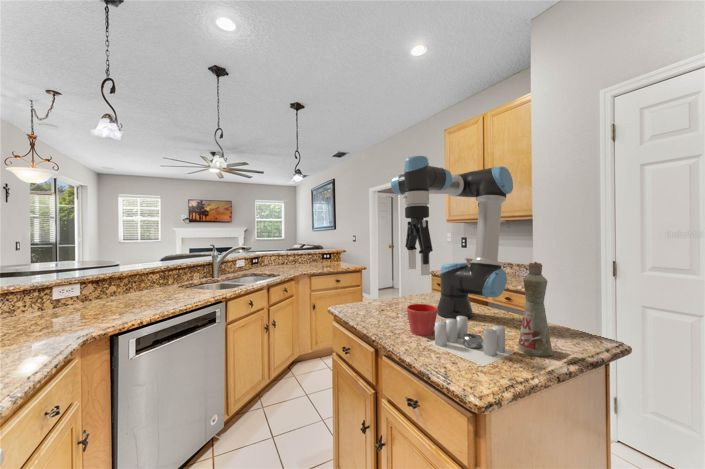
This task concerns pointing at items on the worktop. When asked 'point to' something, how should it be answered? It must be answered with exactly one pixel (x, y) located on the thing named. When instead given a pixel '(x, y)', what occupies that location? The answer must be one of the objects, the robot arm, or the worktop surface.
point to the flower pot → (422, 319)
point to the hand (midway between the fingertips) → (417, 272)
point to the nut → (472, 341)
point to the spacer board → (452, 341)
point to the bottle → (535, 315)
